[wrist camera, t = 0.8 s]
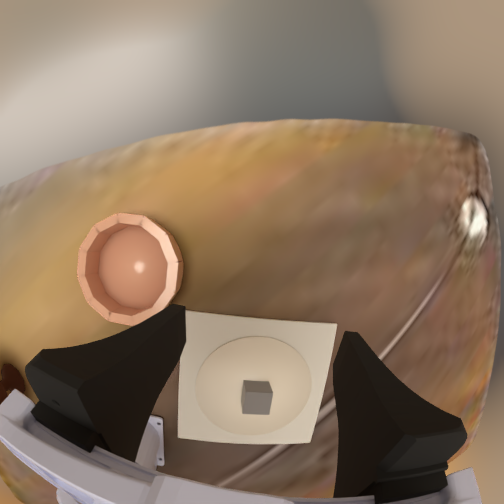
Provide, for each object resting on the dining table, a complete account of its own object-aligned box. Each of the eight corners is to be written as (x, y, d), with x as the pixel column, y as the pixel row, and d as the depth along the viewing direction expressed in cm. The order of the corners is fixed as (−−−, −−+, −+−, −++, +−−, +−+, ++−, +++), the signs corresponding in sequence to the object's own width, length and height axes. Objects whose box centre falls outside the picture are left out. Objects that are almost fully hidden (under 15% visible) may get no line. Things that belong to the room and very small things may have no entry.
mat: (309, 440, 32) (309, 442, 32) (178, 435, 30) (177, 437, 30) (335, 323, 32) (337, 324, 32) (184, 309, 31) (183, 310, 30)
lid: (299, 432, 32) (306, 447, 28) (193, 428, 30) (191, 444, 27) (319, 339, 32) (330, 348, 28) (199, 329, 30) (196, 339, 27)
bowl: (178, 321, 30) (172, 332, 26) (92, 306, 29) (75, 313, 25) (189, 224, 31) (183, 219, 26) (100, 214, 30) (84, 209, 25)
